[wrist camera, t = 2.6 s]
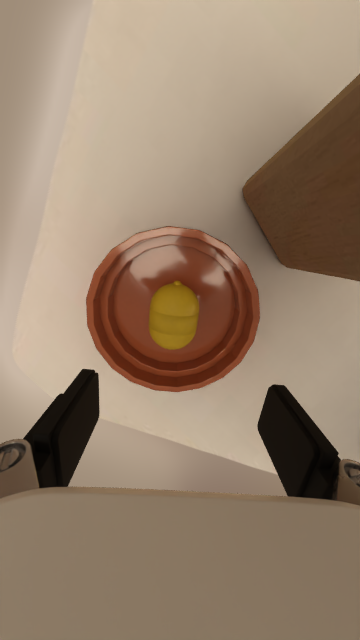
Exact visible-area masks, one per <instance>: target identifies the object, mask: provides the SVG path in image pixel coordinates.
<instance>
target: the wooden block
mask: <svg viewBox="0 0 360 640" xmlns="http://www.w3.org/2000/svg"><path fill="white" fill-rule="evenodd" d="M243 195H244V198H245V200H246V202H247V204H248V205H249V207H250V209H251V211H252V212H253V214H254V216H255V218H256V219H257V221H258V223H259V225H260V226H261V228H262V230H263V232H264V233H265V235H266V237H267V239H268V240H269V242H270V244H271V246H272V247H273V249H274V251H275V253H276V254H277V256H278V258H279V260H280V261H281V263H282V264H283V265H284V266H286V267H287V268H292V269H298V270H303V271H308V272H314V273H319V274H324V275H330V276H335V277H340V278H346V279H351V280H356V281H360V74H359V75H358V76H357V77H356V78H355V79H354V80H353V81H352V82H351V83H350V84H349V85H348V86H347V87H345V88H344V89H343V90H342V91H341V92H340V93H339V94H338V95H337V96H336V97H335V98H334V99H333V100H332V101H331V102H330V103H329V104H328V105H327V106H325V107H324V108H323V109H322V110H321V111H320V112H319V113H318V114H317V115H316V116H315V117H314V118H313V119H312V120H311V121H310V122H309V123H308V124H307V125H305V126H304V127H303V128H302V129H301V130H300V131H299V132H298V133H297V134H296V135H295V136H294V137H293V138H292V139H291V140H290V141H289V142H288V143H287V144H285V145H284V146H283V147H282V148H281V149H280V150H279V151H278V152H277V153H276V154H275V155H274V156H273V157H272V158H271V159H270V160H269V161H268V162H267V163H265V164H264V165H263V166H262V167H261V168H260V169H259V170H258V171H257V172H256V173H255V174H254V175H253V176H252V177H251V178H250V179H249V180H248V181H247V182H246V184H245V186H244V187H243Z"/></svg>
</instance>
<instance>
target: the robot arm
mask: <svg viewBox="0 0 360 640" xmlns="http://www.w3.org/2000/svg"><path fill="white" fill-rule="evenodd" d="M98 418H99V380H98V373H95V370H90V369H82V370H81V372H80V373H79V374H78V376H77V377H76V378H75V379H74V381H73V382H72V383H71V385H70V386H69V387H68V389H67V390H66V391H65V392H64V394H59V395H58V396H57V397H56V399H55V400H54V401H53V402H52V404H51V405H50V406H49V407H48V409H47V410H46V411H45V412H44V414H43V415H42V416H41V417H40V419H39V420H38V421H37V422H36V423H35V425H34V426H33V427H32V429H31V430H30V431H29V432H28V433H27V435H26V436H25V437H24V438H23V439H13V440H10V441H6V442H4V443H2V444H0V640H360V463H358V462H356V461H353V460H350V459H343V460H341V459H340V458H339V457H338V454H339V453H338V452H337V450H336V449H335V448H334V447H333V445H332V444H331V443H330V442H329V440H328V439H327V438H326V437H325V435H324V434H323V433H322V432H321V430H320V429H319V428H318V427H317V425H316V424H315V423H314V422H313V420H312V419H311V418H310V417H309V415H308V414H307V413H306V412H305V410H304V409H303V408H302V407H301V405H300V404H299V403H298V402H297V400H296V399H295V398H294V397H293V395H292V394H291V393H290V392H289V390H288V389H287V388H286V387H285V386H284V385H272V386H271V387H269V388H268V391H267V395H266V398H265V401H264V405H263V408H262V411H261V415H260V418H259V421H258V431H259V434H260V436H261V438H262V440H263V442H264V445H265V447H266V449H267V451H268V453H269V456H270V458H271V460H272V462H273V464H274V467H275V469H276V471H277V473H278V476H279V478H280V480H281V482H282V484H283V487H284V489H285V491H286V493H287V495H288V496H270V495H251V494H234V493H215V492H196V491H175V490H154V489H130V488H106V487H68V484H69V482H70V480H71V478H72V476H73V474H74V471H75V469H76V467H77V465H78V463H79V460H80V458H81V456H82V454H83V452H84V449H85V447H86V445H87V443H88V441H89V438H90V436H91V434H92V432H93V430H94V427H95V425H96V423H97V421H98Z"/></svg>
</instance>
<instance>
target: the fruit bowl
mask: <svg viewBox="0 0 360 640" xmlns="http://www.w3.org/2000/svg"><path fill="white" fill-rule="evenodd" d="M175 281H180V282H181V284H182V285H185V286H187V287H188V288H190V289H191V290H192V291H193V292H194V293H195V295H196V297H197V299H198V302H199V315H198V322H197V329H196V333H195V335H194V337H193V339H192V340H191V342H190V343H189V344H187V345H186V346H184V347H182V348H180V349H175V350H169V349H165V348H163V347H161V346H159V345H158V344H157V343H156V342H155V341H154V340H153V339H152V337H151V335H150V331H149V313H150V303H151V299H152V297H153V295H154V294H155V292H156V291H157V290H158V289H159V288H161V287H162V286H164V285H167V284H171V283H174V282H175ZM86 298H87V299H86V305H87V326H88V328H89V331H90V333H91V336H92V339H93V341H94V344H95V346H96V348H97V350H98V351H99V352H100V354H101V355H102V356H103V358H104V359H105V360H106V361H107V363H108V364H109V365H110V366H111V367H112V369H114V370H115V371H117V372H118V373H119V374H121V375H122V376H124V377H125V378H127V379H128V380H129V381H131V382H133V383H136V384H139V385H142V386H144V387H147V388H150V389H153V390H159V391H170V392H181V391H187V390H193V389H198V388H202V387H204V386H206V385H208V384H210V383H213V382H215V381H217V380H219V379H221V378H223V377H224V376H225V375H227V374H228V373H229V372H230V371H231V370H232V369H233V368H235V367H236V366H237V365H238V364H239V363H240V362H241V361H242V359H243V358H244V356H245V355H246V353H247V351H248V350H249V348H250V347H251V345H252V344H253V341H254V338H255V335H256V331H257V327H258V323H259V319H260V309H259V295H258V289H257V287H256V285H255V283H254V280H253V278H252V276H251V273H250V271H249V269H248V267H247V265H246V264H245V263H244V262H243V261H242V260H241V258H240V257H239V256H238V255H237V254H236V253H235V252H234V251H233V250H232V249H231V248H230V247H229V246H228V245H227V244H226V243H224V242H222V241H220V240H218V239H216V238H214V237H212V236H210V235H208V234H206V233H204V232H202V231H200V230H195V229H187V228H179V227H171V226H166V227H162V228H157V229H153V230H148V231H144V232H139V233H137V234H135V235H133V236H132V237H130V238H129V239H127V240H126V241H124V242H122V243H121V244H119V245H118V246H116V247H115V248H113V249H112V250H111V251H110V252H109V254H108V255H107V256H106V257H105V259H104V260H103V261H102V263H101V264H100V265H99V267H98V268H97V269H96V271H95V273H94V275H93V278H92V281H91V285H90V288H89V291H88V294H87V297H86Z"/></svg>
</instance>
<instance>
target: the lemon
mask: <svg viewBox="0 0 360 640" xmlns="http://www.w3.org/2000/svg"><path fill="white" fill-rule="evenodd" d="M198 315H199V302H198V299H197V297H196V295H195V293H194V292H193V291H192V290H191V289H190V288H188V287H187V286H185V285H182V284H181V282H180V281H175V282H174V283H171V284H167V285H164V286H162V287H161V288H159V289H158V290H157V291H156V292H155V294H154V295H153V297H152V299H151V303H150V313H149V331H150V335H151V337H152V339H153V340H154V341H155V342H156V343H157V344H158V345H159V346H161V347H163V348H165V349H169V350H175V349H180V348H182V347H184V346H186V345H187V344H189V343H190V342H191V340H192V339H193V337H194V335H195V333H196V329H197V322H198Z"/></svg>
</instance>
